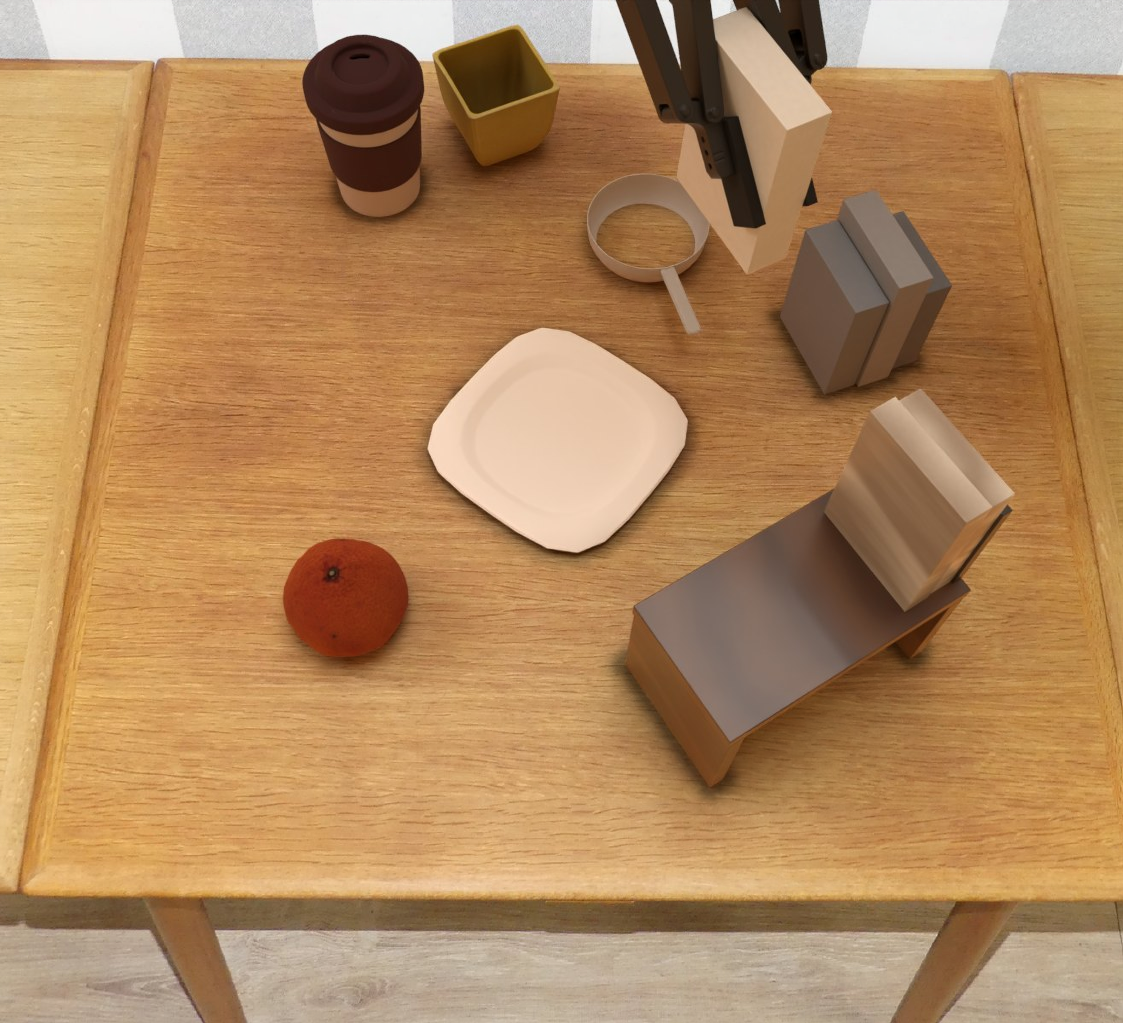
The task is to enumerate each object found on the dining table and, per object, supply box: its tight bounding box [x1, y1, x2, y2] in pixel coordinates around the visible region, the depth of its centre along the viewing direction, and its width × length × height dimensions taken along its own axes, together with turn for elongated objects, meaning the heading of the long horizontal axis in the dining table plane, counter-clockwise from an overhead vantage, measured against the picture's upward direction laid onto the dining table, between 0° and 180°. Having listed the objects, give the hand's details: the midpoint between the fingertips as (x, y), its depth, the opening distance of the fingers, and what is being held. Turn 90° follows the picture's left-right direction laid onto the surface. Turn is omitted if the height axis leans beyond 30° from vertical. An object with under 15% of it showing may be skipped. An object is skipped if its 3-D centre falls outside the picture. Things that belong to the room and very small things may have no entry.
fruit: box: [282, 537, 409, 658], centre depth 90 cm, size 9×9×8 cm
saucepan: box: [586, 173, 711, 336], centre depth 107 cm, size 11×18×4 cm, turn 16°
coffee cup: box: [301, 34, 425, 218], centre depth 106 cm, size 10×10×15 cm
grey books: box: [779, 189, 953, 395], centre depth 99 cm, size 9×9×14 cm
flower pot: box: [431, 24, 561, 167], centre depth 111 cm, size 9×9×9 cm
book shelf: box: [624, 388, 1016, 788], centre depth 81 cm, size 20×11×25 cm, turn 122°
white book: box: [676, 7, 833, 276], centre depth 75 cm, size 9×3×13 cm, turn 28°
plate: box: [426, 327, 689, 554], centre depth 100 cm, size 18×18×2 cm
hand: (775, 213), depth 75 cm, fingers closed on white book, 3 cm apart
